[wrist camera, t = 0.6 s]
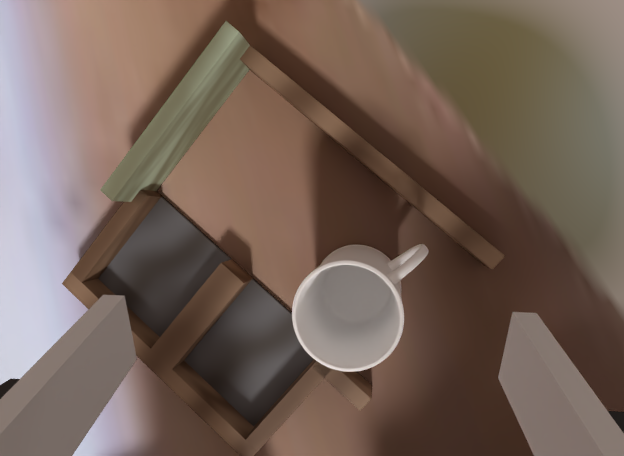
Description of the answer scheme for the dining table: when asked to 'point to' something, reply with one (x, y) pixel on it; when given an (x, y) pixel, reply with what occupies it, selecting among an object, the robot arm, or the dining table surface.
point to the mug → (353, 306)
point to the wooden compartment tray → (222, 264)
